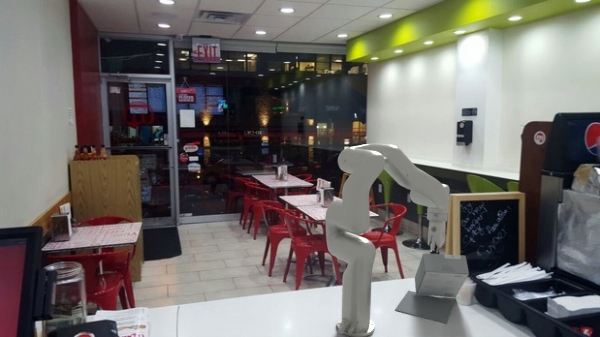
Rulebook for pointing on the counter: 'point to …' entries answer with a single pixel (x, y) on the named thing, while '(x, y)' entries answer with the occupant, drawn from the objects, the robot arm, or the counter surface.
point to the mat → (426, 307)
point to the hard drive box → (441, 275)
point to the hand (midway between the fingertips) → (434, 261)
